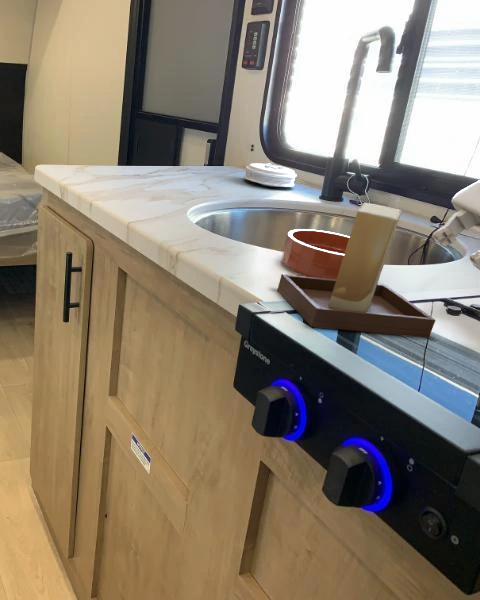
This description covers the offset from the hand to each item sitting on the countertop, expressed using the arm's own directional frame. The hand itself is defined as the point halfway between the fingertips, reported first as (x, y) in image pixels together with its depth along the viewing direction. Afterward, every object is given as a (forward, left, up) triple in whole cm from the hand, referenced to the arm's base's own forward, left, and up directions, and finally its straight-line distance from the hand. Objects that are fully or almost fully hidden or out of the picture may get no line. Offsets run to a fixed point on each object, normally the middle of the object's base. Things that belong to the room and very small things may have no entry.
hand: (454, 252), depth 69 cm
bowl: (+5, -18, -9) cm, 21 cm away
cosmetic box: (+9, -2, -9) cm, 13 cm away
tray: (+9, -2, -9) cm, 13 cm away
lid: (-10, -87, -10) cm, 88 cm away
